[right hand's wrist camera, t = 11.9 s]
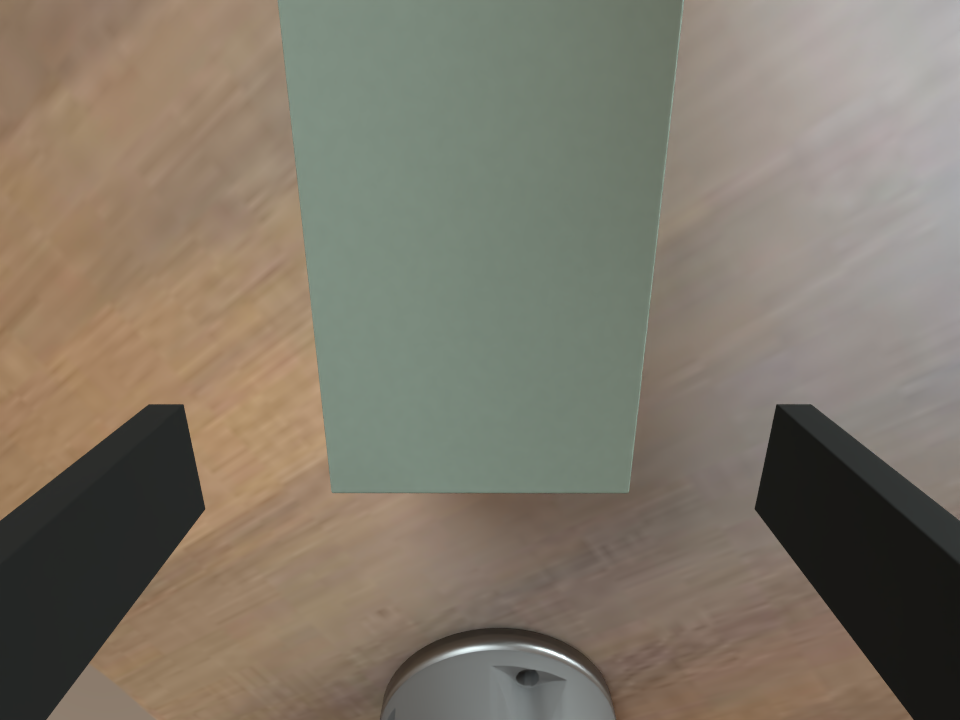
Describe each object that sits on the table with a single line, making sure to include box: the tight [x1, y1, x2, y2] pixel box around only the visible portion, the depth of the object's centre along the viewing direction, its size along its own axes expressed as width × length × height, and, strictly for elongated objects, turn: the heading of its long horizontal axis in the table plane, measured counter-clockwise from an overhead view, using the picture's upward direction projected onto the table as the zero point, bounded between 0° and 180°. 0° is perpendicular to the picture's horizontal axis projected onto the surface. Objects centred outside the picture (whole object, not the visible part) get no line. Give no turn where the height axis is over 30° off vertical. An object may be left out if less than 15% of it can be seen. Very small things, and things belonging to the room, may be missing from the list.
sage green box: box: [278, 0, 684, 493], centre depth 21 cm, size 16×10×10 cm, turn 0°
